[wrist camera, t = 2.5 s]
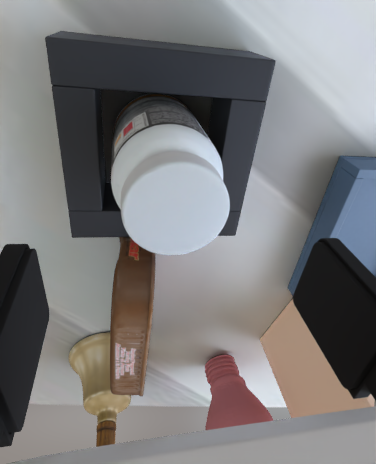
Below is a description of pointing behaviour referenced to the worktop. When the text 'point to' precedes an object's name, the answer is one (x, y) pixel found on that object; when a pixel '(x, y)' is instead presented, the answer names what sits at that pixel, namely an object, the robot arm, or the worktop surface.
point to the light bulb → (231, 396)
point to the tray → (346, 213)
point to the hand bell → (98, 384)
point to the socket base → (152, 81)
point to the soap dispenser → (304, 369)
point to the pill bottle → (167, 177)
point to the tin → (131, 318)
